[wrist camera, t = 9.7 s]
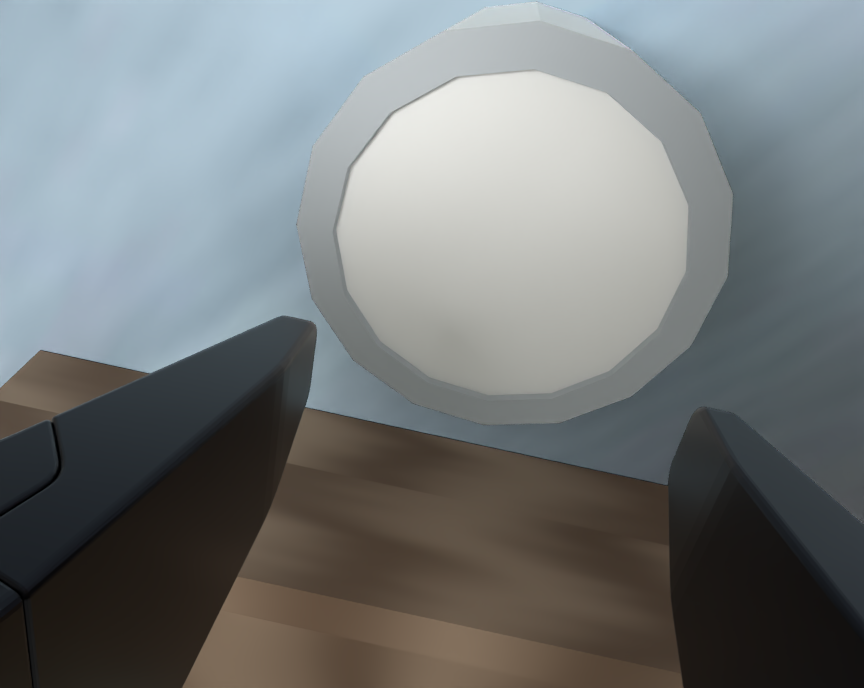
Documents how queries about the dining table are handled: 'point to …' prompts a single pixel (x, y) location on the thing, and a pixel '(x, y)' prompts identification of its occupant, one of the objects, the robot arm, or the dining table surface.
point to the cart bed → (423, 561)
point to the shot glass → (516, 220)
